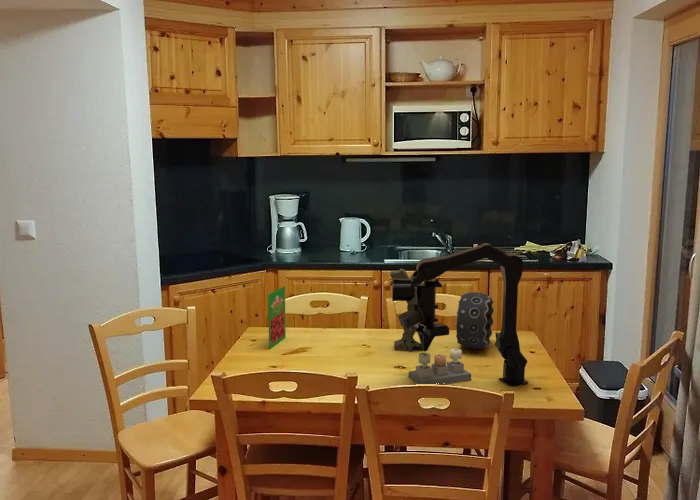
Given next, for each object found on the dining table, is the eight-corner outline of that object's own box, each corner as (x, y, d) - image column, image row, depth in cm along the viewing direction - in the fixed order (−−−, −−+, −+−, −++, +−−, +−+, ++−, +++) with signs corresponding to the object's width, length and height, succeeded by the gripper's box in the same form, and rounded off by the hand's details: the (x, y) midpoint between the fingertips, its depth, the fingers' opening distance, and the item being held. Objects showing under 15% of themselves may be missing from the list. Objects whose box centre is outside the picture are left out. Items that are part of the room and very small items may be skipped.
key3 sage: (432, 371, 198) (432, 355, 197) (421, 372, 196) (422, 356, 196) (426, 367, 201) (426, 351, 200) (416, 368, 200) (416, 353, 199)
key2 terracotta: (447, 372, 200) (448, 356, 199) (437, 374, 199) (438, 358, 198) (441, 368, 203) (442, 353, 203) (431, 370, 202) (432, 354, 201)
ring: (453, 354, 225) (455, 297, 222) (464, 338, 244) (465, 286, 241) (485, 357, 222) (487, 300, 218) (493, 341, 240) (495, 288, 237)
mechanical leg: (434, 343, 234) (415, 263, 230) (434, 350, 227) (415, 267, 223) (396, 351, 236) (377, 272, 232) (396, 357, 229) (376, 276, 225)
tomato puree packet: (270, 349, 230) (269, 294, 226) (267, 349, 230) (266, 294, 227) (286, 337, 244) (286, 285, 241) (284, 337, 244) (283, 285, 241)
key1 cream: (463, 366, 202) (463, 350, 201) (453, 367, 201) (453, 352, 200) (457, 362, 205) (457, 347, 204) (447, 364, 204) (447, 349, 203)
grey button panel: (471, 379, 201) (471, 365, 200) (422, 387, 194) (422, 373, 193) (455, 370, 209) (456, 357, 208) (408, 377, 202) (408, 363, 202)
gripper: (388, 296, 201) (387, 345, 203) (416, 310, 184) (416, 363, 186) (420, 293, 205) (419, 341, 208) (451, 307, 188) (449, 358, 190)
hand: (424, 350), depth 198 cm, fingers closed
